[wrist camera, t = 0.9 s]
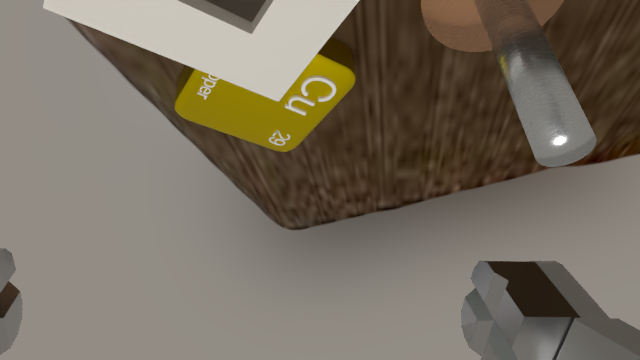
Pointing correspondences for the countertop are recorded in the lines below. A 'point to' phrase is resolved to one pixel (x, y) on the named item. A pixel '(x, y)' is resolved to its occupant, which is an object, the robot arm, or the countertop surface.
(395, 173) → the countertop surface
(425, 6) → the peg
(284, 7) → the slotted white pedestal
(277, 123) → the element tile
